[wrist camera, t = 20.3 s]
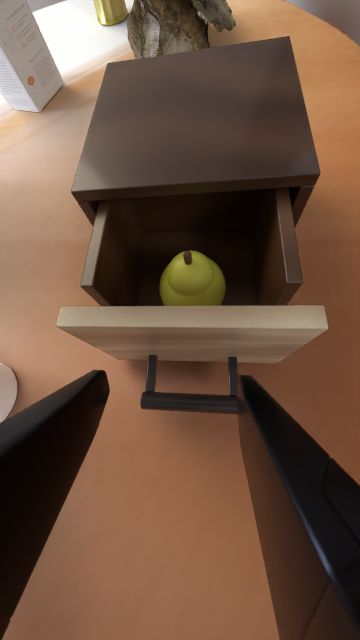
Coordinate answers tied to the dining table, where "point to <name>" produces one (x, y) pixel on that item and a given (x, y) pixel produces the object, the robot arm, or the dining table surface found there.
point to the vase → (110, 11)
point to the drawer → (195, 321)
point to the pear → (192, 281)
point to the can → (7, 391)
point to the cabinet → (199, 127)
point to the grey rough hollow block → (175, 25)
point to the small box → (25, 59)
